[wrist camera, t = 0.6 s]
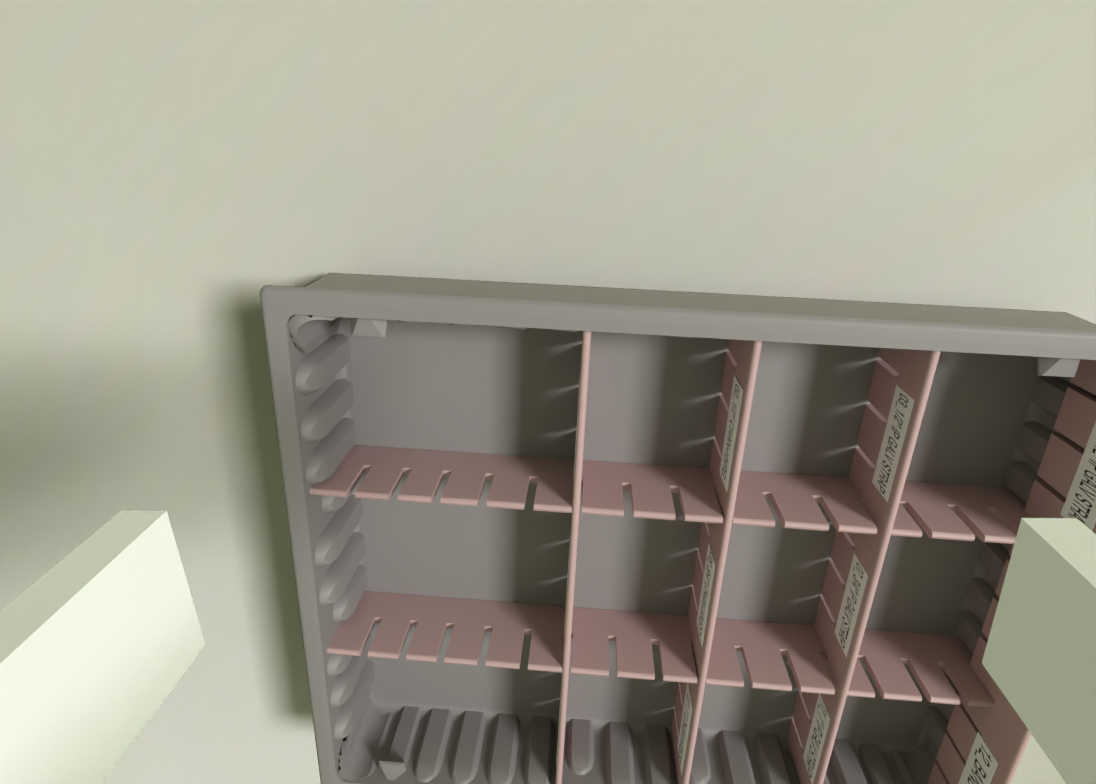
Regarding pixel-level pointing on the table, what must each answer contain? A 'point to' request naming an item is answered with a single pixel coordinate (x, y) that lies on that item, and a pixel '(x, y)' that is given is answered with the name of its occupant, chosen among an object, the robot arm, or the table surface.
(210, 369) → the table surface
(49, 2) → the table surface
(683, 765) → the organizer tray
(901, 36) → the table surface
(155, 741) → the table surface
